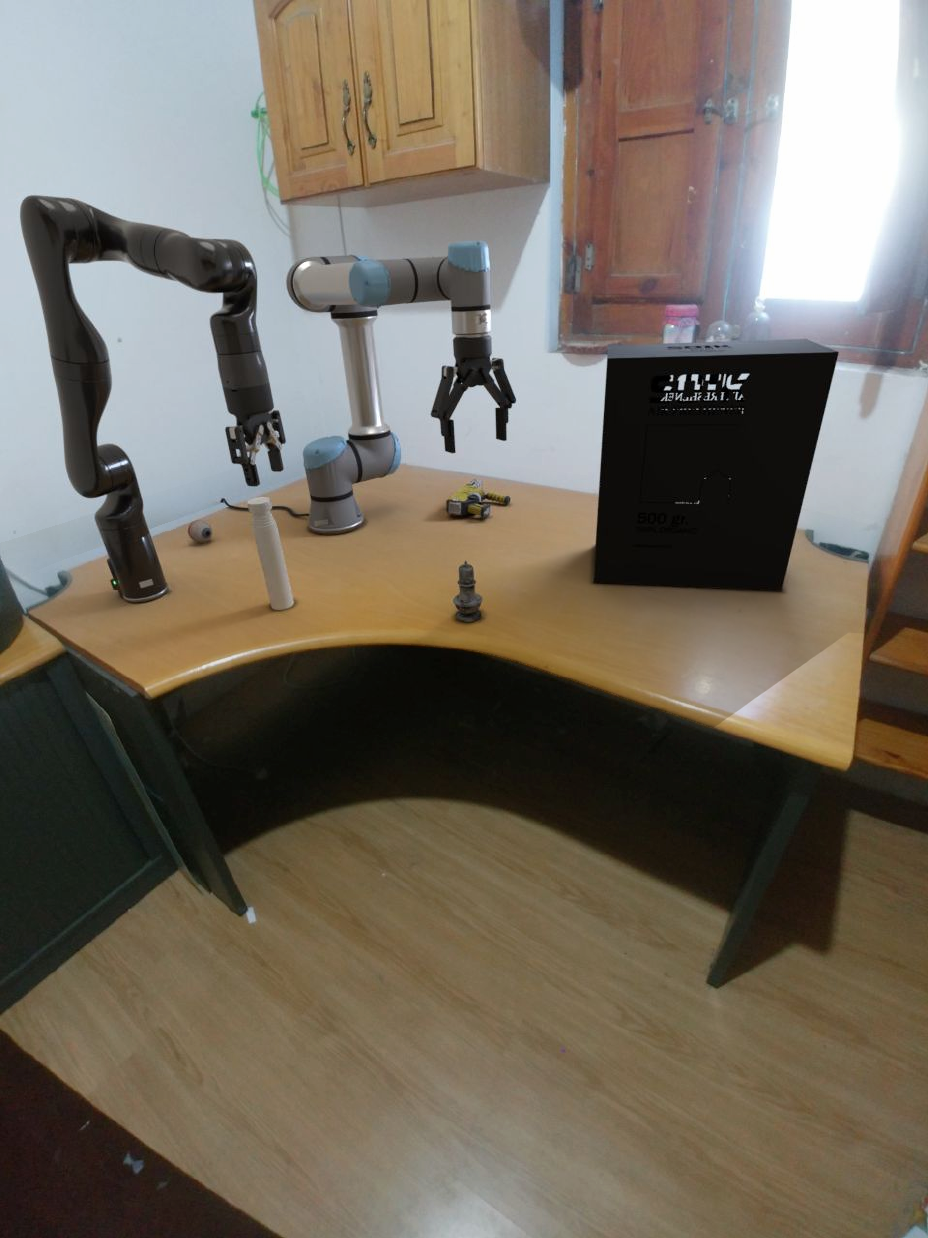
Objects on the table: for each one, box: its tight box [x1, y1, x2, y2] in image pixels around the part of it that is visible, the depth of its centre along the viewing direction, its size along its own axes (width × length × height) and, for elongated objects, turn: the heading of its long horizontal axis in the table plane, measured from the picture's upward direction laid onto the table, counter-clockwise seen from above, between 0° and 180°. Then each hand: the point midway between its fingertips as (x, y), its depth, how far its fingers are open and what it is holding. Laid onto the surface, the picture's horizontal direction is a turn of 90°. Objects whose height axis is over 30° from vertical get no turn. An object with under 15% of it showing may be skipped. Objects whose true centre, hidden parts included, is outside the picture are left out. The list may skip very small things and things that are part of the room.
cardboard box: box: [593, 338, 840, 592], centre depth 124 cm, size 38×20×45 cm, turn 78°
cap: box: [247, 496, 273, 514], centre depth 118 cm, size 4×4×2 cm
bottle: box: [251, 510, 295, 611], centre depth 124 cm, size 5×5×23 cm
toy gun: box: [445, 478, 511, 520], centre depth 176 cm, size 5×24×15 cm
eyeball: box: [187, 519, 213, 544], centre depth 162 cm, size 6×6×6 cm
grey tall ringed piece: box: [452, 560, 484, 623], centre depth 118 cm, size 6×6×12 cm
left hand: (266, 478), depth 107 cm, fingers open, 8 cm apart
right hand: (476, 445), depth 127 cm, fingers open, 13 cm apart
